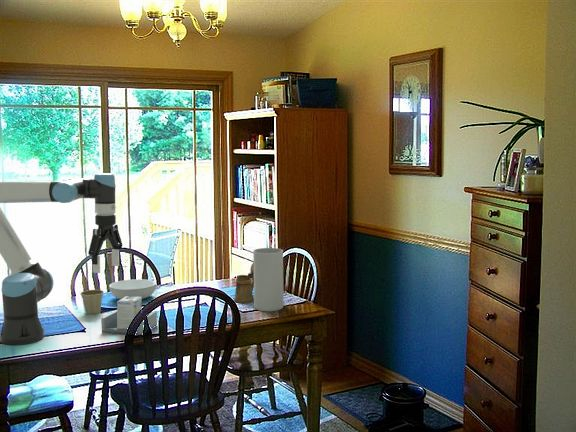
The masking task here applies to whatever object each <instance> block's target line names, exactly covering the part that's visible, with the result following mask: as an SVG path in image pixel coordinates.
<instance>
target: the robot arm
mask: <svg viewBox="0 0 576 432" xmlns="http://www.w3.org/2000/svg"><path fill="white" fill-rule="evenodd" d="M79 199H94V214H95V216H94V217H95V218H94V219H95V222H94V224H95V225H96V226H98V227H97V228H93V229H92V237H91V240H90V245H89V250H88V252H87V253H88V256H91V259H92V263H91V264H92V273H93V274H100V273H101V255H99V254H100V252H101V249H102V247H103V244H104V242H105V241H106V240H108V241H109V243H110V244H111V247H112V249H111V266H112V267H120V250H122V247H123V242H122V239H121V236H120V235H121V234H120V233H119V226H118V224H116V223H117V217H116V208H117V206H116V178H115V175H114V174H113V173H107V172H106V173H105V172H104V173H101V172H99V173H98V172H97V173H95V174H94V175H93V178H82V177H81V178H78V177H77V178H76V177H66V178H64V179H63V180H54V181H53V180H51V181H50V180H47V181H45V180H43V181H0V204H10V203H12V204H14V203H19V204H21V203H24V204H26V203H60V204H66V203H67V204H68V203H71V202H74V201H76V200H79ZM0 256H1V257H2V259H3V260H4V263H5V264H6V265H7V267H8V269H9V270H10V275H8V276H6V277H5V278H3V280H2V281H1V293H2V294H1V295H2V297H1V298H2V311H3V322H2V326H1V329H0V343H2V344H4V345H9V346H10V345H11V346H17V345H19V346H21V345H27V344H28V345H29V344H31V343H35V342H39V341H41V340H42V339H43V338H45V329H44V328H43V325H42V323H41V321H40V318H39V310H38V303H39V302H40V301H42V300H44V299H45V298H47V297H48V296H49V295H50V293H51V292H52V291H53V288H54V278H53V276H52V274H51V273H50V272H49V270H47V269H44V268H42V266H41V264H40V263H39V262H38V260H37V261H36V260H33V259H32V258H31V256H30V253H29V252H28V251H27V249H26V247H25V246H24V244H23V243H22V241H21V239H20V238H19V236H18V234H17V232H16V231H15V230H14V228H13V226H12V225H11V223H10V221H9V220H8V218H7V216H6V214H5V213H4V211H3V210H2V208H1V207H0Z"/></svg>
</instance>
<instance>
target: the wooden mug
mask: <svg viewBox="0 0 576 432" xmlns="http://www.w3.org/2000/svg"><path fill="white" fill-rule="evenodd" d="M249 270H250V272H249V273H247V274H239V275H237V276H236V279H235V291H234V297H233V302H234V301H235V303H237V304H238V303H239V304H248V303H252V302H254V261H253V262H252V264H251V266H250V269H249Z"/></svg>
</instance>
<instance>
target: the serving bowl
mask: <svg viewBox="0 0 576 432" xmlns="http://www.w3.org/2000/svg"><path fill="white" fill-rule="evenodd" d="M108 288H109V290H110V293H111V295H112V296H113V297H115V298H116V299H118V300H121V299H122V298H124V297H125V296H131V297H142V300H143V299H146V298H149V297H150V296H152V295H153V294H154V293H155V291H156V288H157V282H156V281H155V280H151V279H141V278H139V279H137V278H136V279H124V280H118V281H114V282H112V283H110V284H109V287H108Z"/></svg>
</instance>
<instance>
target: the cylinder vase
mask: <svg viewBox="0 0 576 432" xmlns="http://www.w3.org/2000/svg"><path fill="white" fill-rule="evenodd" d="M252 257H253V262H254V288H253V296H254V301H253V306H254V309H255V310H257V311H259V312H264V313H265V312H278V311H281V310H282V309H283V308H284V250H283V249H281V248H278V247H277V248H275V247H262V248H255V249H254V250H253V255H252Z"/></svg>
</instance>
